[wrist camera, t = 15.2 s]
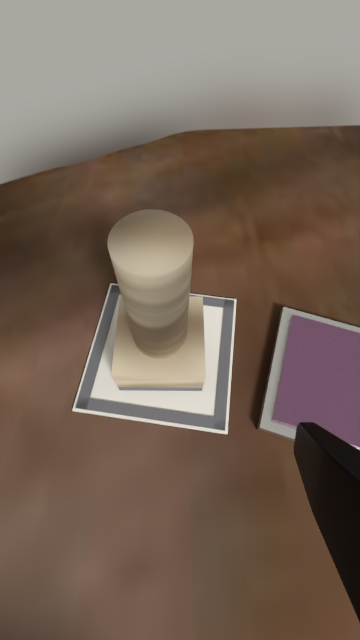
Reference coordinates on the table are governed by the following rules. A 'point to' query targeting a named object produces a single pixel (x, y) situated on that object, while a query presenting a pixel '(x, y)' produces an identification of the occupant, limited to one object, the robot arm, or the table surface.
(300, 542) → the table surface
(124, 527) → the table surface
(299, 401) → the ink pad
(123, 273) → the stamp
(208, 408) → the marked card
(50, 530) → the table surface
